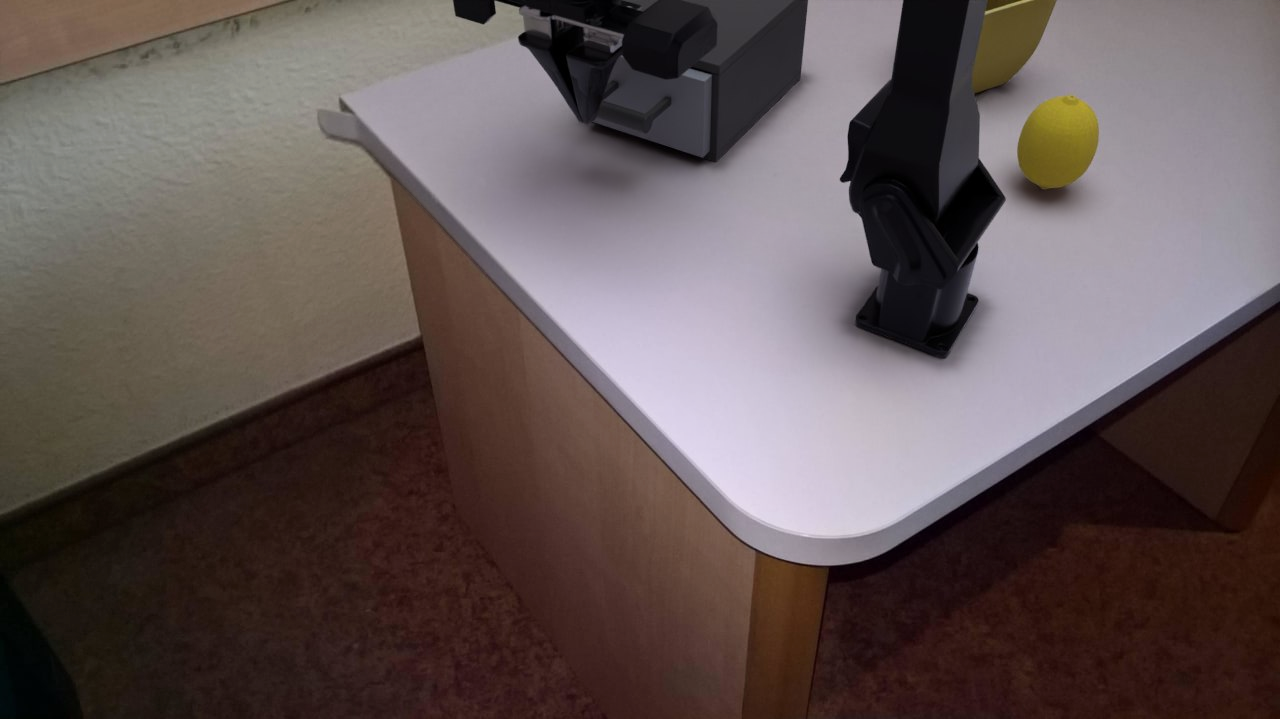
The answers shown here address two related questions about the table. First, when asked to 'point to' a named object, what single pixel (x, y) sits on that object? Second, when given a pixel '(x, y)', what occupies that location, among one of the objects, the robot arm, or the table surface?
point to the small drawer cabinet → (749, 62)
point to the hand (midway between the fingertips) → (587, 120)
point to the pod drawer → (659, 107)
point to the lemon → (1058, 142)
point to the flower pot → (1008, 39)
